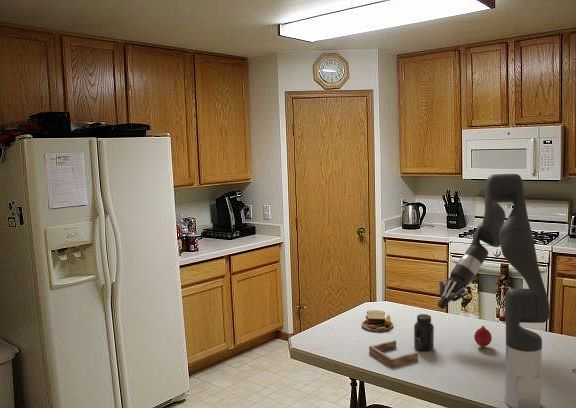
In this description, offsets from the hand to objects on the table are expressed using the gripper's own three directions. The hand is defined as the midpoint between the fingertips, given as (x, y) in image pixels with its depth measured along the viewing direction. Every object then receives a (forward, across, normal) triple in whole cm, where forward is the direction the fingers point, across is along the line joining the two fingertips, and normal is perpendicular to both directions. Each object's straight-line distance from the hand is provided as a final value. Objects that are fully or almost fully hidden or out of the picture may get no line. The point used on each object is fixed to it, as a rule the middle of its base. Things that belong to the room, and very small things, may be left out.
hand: (440, 307), depth 190 cm
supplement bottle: (+15, 0, +4) cm, 16 cm away
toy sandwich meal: (+17, -27, +4) cm, 32 cm away
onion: (+2, +10, +17) cm, 20 cm away
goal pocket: (+24, 0, -5) cm, 25 cm away
